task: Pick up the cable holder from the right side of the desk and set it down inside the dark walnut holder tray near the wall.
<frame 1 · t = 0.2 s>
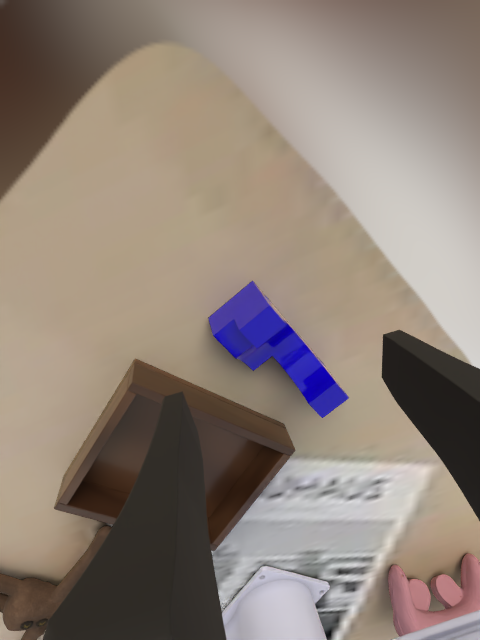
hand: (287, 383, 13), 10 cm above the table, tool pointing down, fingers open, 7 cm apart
brown humanoid figurine: (23, 576, 29), on the table
holder: (177, 448, 27), on the table
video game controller: (423, 571, 39), on the table
cable holder: (268, 340, 25), on the table
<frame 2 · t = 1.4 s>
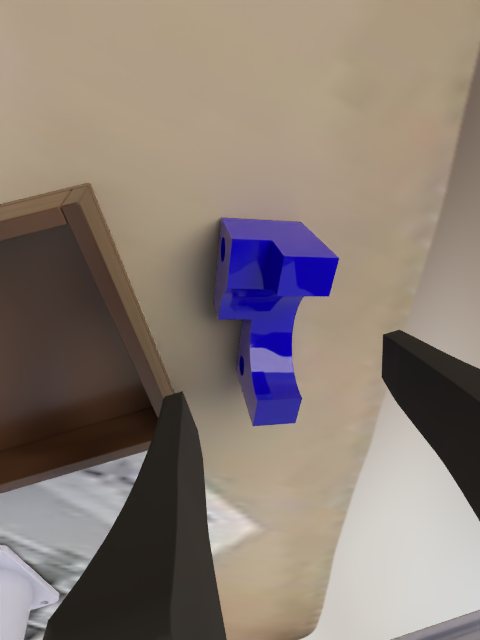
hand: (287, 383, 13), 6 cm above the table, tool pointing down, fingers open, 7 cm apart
holder: (30, 342, 17), on the table
cable holder: (248, 300, 18), on the table
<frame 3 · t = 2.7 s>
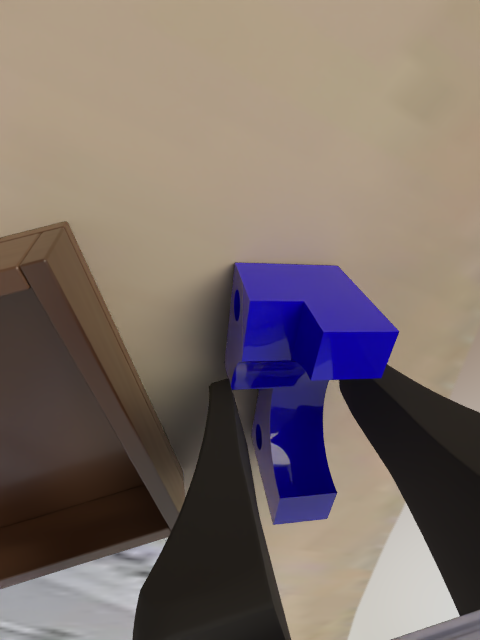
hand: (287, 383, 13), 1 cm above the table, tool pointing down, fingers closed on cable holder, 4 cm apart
cable holder: (268, 358, 15), on the table, touching gripper
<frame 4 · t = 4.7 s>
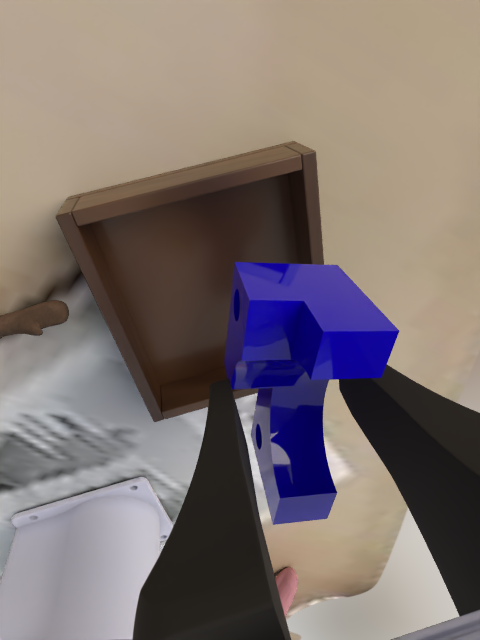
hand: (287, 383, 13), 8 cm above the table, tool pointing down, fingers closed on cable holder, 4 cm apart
holder: (213, 283, 20), on the table
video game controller: (245, 565, 37), on the table
cable holder: (268, 357, 15), point 7 cm above the table, touching gripper
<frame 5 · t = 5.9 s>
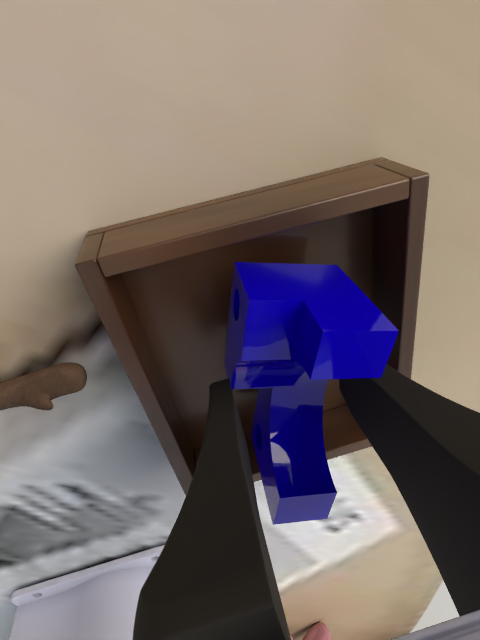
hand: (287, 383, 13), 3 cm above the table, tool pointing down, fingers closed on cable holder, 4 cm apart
holder: (264, 331, 16), on the table
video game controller: (273, 623, 33), on the table
cable holder: (268, 357, 15), point 2 cm above the table, touching gripper
when the fingers open (2 cm above the table, at t = 6.7 s): cable holder stays where it is, resting on holder.
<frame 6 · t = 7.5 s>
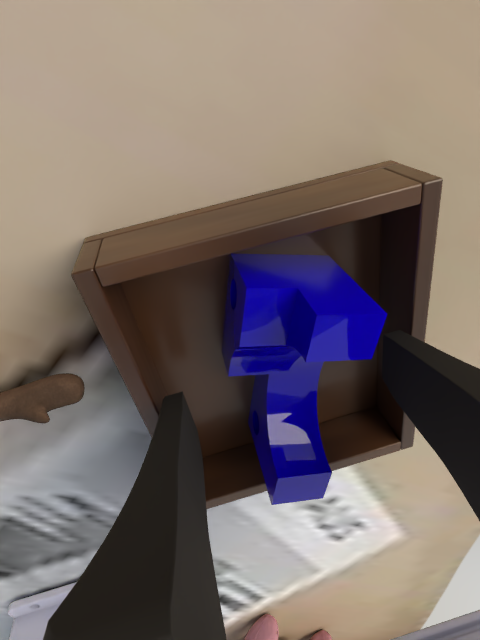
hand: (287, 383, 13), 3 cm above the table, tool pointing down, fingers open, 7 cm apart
holder: (268, 339, 15), on the table
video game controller: (274, 631, 33), on the table
cable holder: (263, 346, 15), resting on holder
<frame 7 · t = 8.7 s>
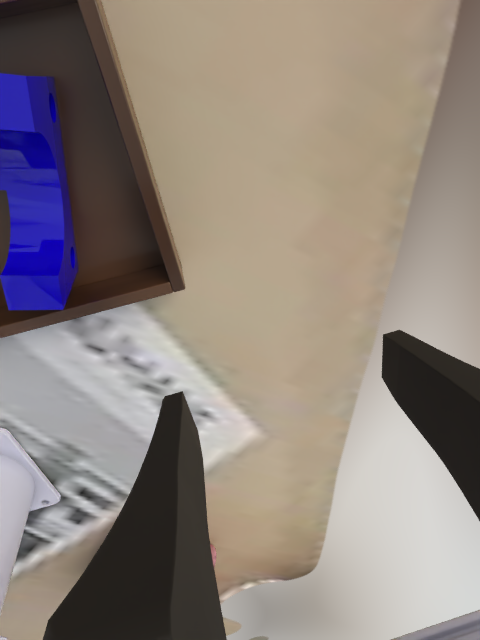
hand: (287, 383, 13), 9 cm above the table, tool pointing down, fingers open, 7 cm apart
holder: (32, 177, 17), on the table
cable holder: (25, 181, 16), resting on holder
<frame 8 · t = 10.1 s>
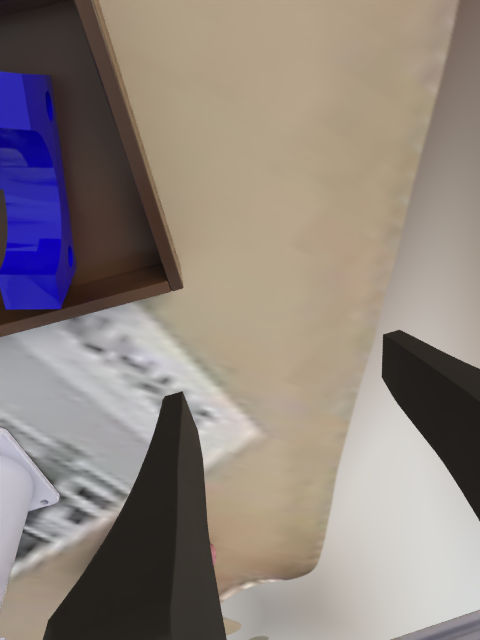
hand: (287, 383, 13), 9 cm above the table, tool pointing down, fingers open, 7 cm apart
holder: (30, 176, 17), on the table
cable holder: (22, 180, 16), resting on holder
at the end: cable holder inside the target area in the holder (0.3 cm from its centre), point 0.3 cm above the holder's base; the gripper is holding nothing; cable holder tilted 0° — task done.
